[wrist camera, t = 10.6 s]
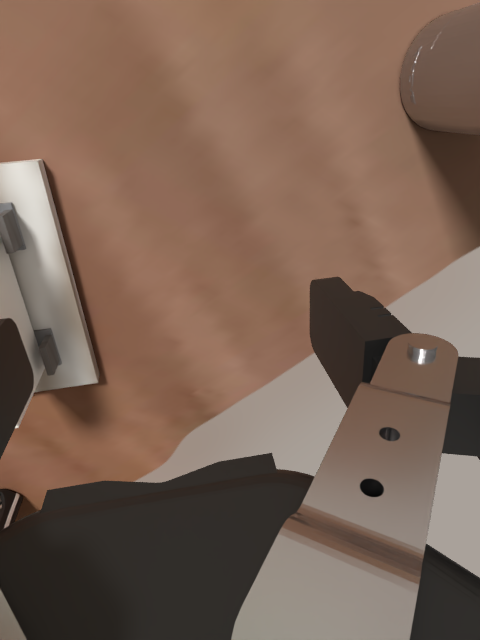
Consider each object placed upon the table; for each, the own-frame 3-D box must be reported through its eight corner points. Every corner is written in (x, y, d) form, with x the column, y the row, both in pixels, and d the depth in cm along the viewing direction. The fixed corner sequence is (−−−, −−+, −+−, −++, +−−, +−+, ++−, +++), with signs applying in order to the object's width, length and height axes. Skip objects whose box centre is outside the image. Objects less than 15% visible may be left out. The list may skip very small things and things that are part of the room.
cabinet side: (42, 158, 36) (27, 165, 32) (99, 374, 46) (94, 399, 42) (-99, 171, 35) (-131, 179, 31) (-8, 390, 45) (-24, 417, 41)
